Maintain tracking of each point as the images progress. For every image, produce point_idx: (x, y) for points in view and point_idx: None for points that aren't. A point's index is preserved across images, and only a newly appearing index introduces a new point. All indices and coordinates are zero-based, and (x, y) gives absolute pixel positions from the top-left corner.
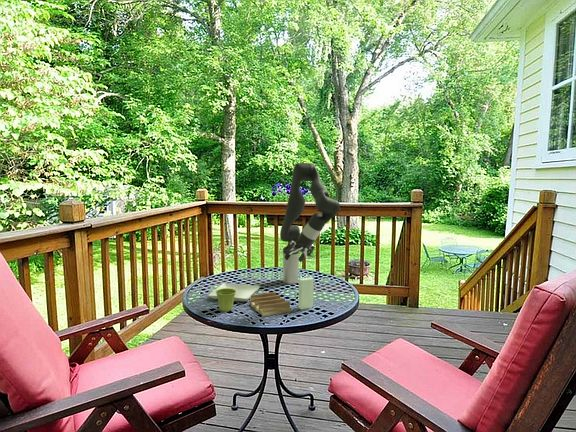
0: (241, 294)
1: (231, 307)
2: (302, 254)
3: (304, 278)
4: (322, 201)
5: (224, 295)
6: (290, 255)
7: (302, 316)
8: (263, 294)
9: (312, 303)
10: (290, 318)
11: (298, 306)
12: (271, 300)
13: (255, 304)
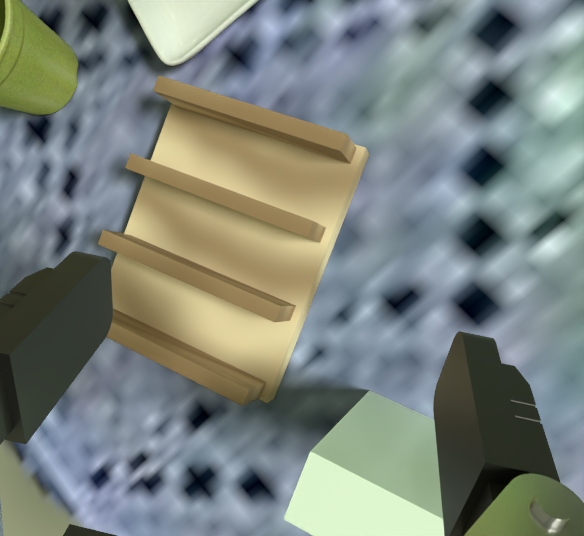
0: None
1: (39, 110)
2: (476, 486)
3: (375, 497)
4: None
5: None
6: (34, 425)
7: (261, 515)
8: (238, 118)
9: None
10: (186, 471)
11: (368, 391)
12: (177, 274)
13: (148, 177)
